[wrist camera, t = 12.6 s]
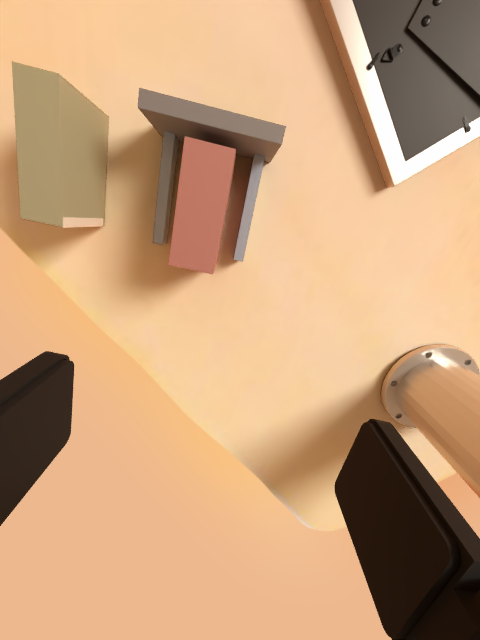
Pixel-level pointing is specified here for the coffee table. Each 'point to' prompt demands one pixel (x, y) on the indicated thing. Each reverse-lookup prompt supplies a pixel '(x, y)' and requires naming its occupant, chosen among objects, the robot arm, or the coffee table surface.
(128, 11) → the coffee table surface
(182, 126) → the shelf slot
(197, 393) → the coffee table surface
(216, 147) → the reddish pink rectangular block
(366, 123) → the picture frame
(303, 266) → the coffee table surface
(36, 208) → the olive rectangular block
